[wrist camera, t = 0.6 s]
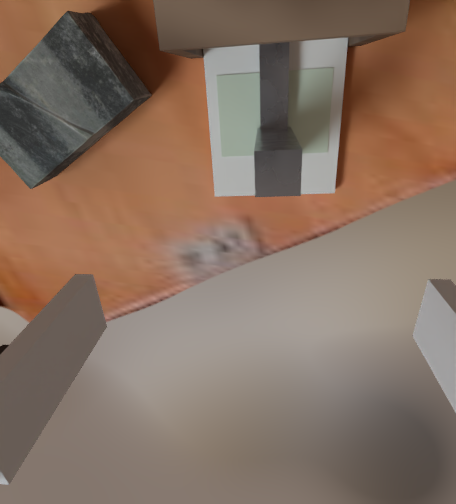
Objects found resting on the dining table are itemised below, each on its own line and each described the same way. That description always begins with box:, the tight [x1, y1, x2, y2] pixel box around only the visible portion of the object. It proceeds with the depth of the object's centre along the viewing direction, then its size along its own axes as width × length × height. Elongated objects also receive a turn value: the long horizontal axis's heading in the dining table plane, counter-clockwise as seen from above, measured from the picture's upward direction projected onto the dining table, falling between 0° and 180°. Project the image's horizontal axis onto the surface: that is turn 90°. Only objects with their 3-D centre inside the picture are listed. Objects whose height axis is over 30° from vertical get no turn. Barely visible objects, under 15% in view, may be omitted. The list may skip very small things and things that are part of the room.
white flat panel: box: [203, 37, 348, 196], centre depth 28 cm, size 27×12×1 cm, turn 4°
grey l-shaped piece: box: [254, 42, 302, 197], centre depth 24 cm, size 16×5×11 cm, turn 4°
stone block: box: [0, 11, 152, 189], centre depth 31 cm, size 9×14×5 cm, turn 124°
